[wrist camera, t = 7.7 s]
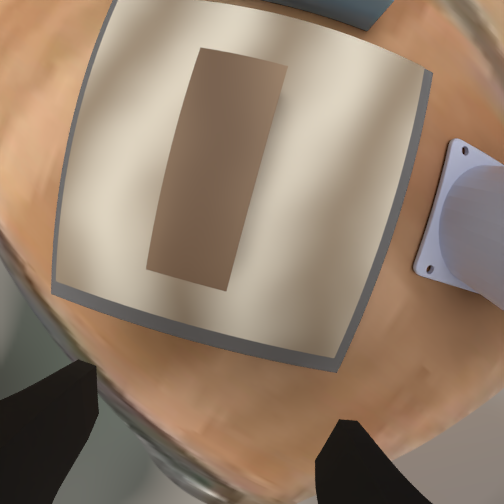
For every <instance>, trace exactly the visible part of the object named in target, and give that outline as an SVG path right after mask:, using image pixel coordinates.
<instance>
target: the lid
mask: <svg viewBox="0 0 504 504" xmlns="http://www.w3.org/2000/svg"><path fill="white" fill-rule="evenodd" d="M424 69H425V68H424V67H422V66H420V65H418V64H416V63H414V62H412V61H410V60H408V59H406V58H404V57H402V56H399V55H397V54H395V53H393V52H391V51H388V50H386V49H384V48H381V47H379V46H376V45H374V44H371V43H369V42H366V41H364V40H361V39H358V38H356V37H353V36H350V35H347V34H345V33H342V32H339V31H336V30H333V29H330V28H327V27H324V26H320V25H317V24H314V23H310V22H307V21H303V20H300V19H296V18H292V17H288V16H284V15H280V14H276V13H272V12H267V11H263V10H258V9H253V8H248V7H242V6H236V5H230V4H224V3H217V2H209V1H201V0H118V1H117V4H116V6H115V8H114V11H113V13H112V15H111V18H110V20H109V23H108V25H107V28H106V30H105V33H104V35H103V38H102V41H101V44H100V46H99V49H98V52H97V55H96V58H95V61H94V64H93V67H92V70H91V73H90V76H89V79H88V83H87V86H86V90H85V93H84V97H83V100H82V104H81V108H80V112H79V116H78V120H77V124H76V128H75V132H74V137H73V141H72V146H71V151H70V156H69V162H68V167H67V173H66V179H65V185H64V192H63V199H62V207H61V215H60V224H59V235H58V247H57V263H56V281H57V282H59V283H62V284H65V285H68V286H70V287H73V288H76V289H79V290H81V291H84V292H87V293H90V294H93V295H96V296H98V297H101V298H104V299H107V300H110V301H113V302H116V303H119V304H122V305H125V306H129V307H132V308H135V309H138V310H141V311H144V312H148V313H151V314H154V315H157V316H161V317H164V318H168V319H171V320H174V321H178V322H181V323H185V324H188V325H192V326H196V327H199V328H203V329H207V330H211V331H214V332H218V333H222V334H226V335H230V336H234V337H238V338H242V339H246V340H250V341H254V342H259V343H263V344H267V345H272V346H276V347H281V348H285V349H290V350H295V351H299V352H304V353H309V354H314V355H319V356H325V357H330V358H335V355H336V353H337V351H338V349H339V346H340V344H341V342H342V340H343V337H344V335H345V333H346V330H347V328H348V326H349V323H350V321H351V318H352V316H353V314H354V311H355V309H356V306H357V304H358V301H359V299H360V296H361V293H362V291H363V288H364V286H365V283H366V280H367V278H368V275H369V272H370V270H371V267H372V264H373V261H374V258H375V256H376V253H377V250H378V247H379V244H380V241H381V238H382V235H383V232H384V229H385V226H386V223H387V220H388V217H389V213H390V210H391V207H392V204H393V200H394V197H395V194H396V190H397V187H398V183H399V180H400V176H401V172H402V169H403V165H404V161H405V157H406V154H407V150H408V146H409V141H410V137H411V133H412V129H413V124H414V120H415V115H416V111H417V106H418V101H419V96H420V91H421V86H422V80H423V74H424Z"/></svg>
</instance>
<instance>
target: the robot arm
mask: <svg viewBox="0 0 504 504" xmlns="http://www.w3.org/2000/svg"><path fill="white" fill-rule="evenodd" d="M462 148H464V149H465V154H463V153H462ZM429 265H431V269H430V270H429V271H428V272H426V269H427V267H428V266H429ZM413 269H414V271H415V273H416V274H418V275H420V276H423V277H426V278H429V279H433V280H436V281H439V282H443V283H446V284H449V285H452V286H456V287H459V288H462V289H465V290H469V291H472V292H475V293H478V294H481V295H482V296H483V297H485V298H486V299H488V300H489V301H491V302H492V303H493V304H495V305H496V306H498V307H499V308H500V309H502V310H503V311H504V165H503V164H501V163H500V162H498V161H497V160H495V159H493V158H492V157H490V156H488V155H487V154H485V153H483V152H482V151H480V150H478V149H477V148H475V147H473V146H471V145H470V144H468V143H466V142H464V141H463V140H461V139H458V138H456V139H452V140H451V141H450V143H449V146H448V150H447V155H446V159H445V163H444V167H443V171H442V175H441V179H440V183H439V186H438V190H437V194H436V197H435V201H434V204H433V207H432V211H431V214H430V217H429V220H428V224H427V227H426V230H425V233H424V236H423V239H422V242H421V245H420V248H419V250H418V253H417V256H416V259H415V262H414V265H413ZM98 414H99V409H98V395H97V373H96V366H95V365H92V364H89V363H86V362H84V361H81V360H79V359H78V360H77V361H75V362H73V363H71V364H69V365H67V366H66V367H64V368H62V369H60V370H59V371H57V372H55V373H53V374H51V375H50V376H48V377H46V378H44V379H42V380H41V381H39V382H37V383H35V384H33V385H31V386H29V387H27V388H26V389H24V390H22V391H20V392H18V393H15V394H13V395H11V396H9V397H7V398H5V399H2V400H0V504H52V502H53V500H54V498H55V496H56V494H57V492H58V490H59V488H60V486H61V484H62V483H63V481H64V479H65V477H66V476H67V474H68V472H69V471H70V469H71V467H72V466H73V464H74V462H75V460H76V459H77V457H78V455H79V454H80V452H81V450H82V449H83V447H84V445H85V443H86V442H87V440H88V438H89V436H90V433H91V431H92V428H93V426H94V424H95V421H96V419H97V417H98ZM315 483H316V494H317V500H318V504H432V503H431V502H430V501H429V500H428V499H426V498H425V497H424V496H423V495H422V494H421V493H420V492H419V491H418V490H417V489H416V488H415V487H414V486H413V485H412V484H411V483H410V482H409V481H408V480H407V479H406V478H405V477H404V476H403V475H402V474H401V473H400V471H399V470H398V469H397V468H396V467H395V466H394V465H393V463H392V462H391V461H390V460H389V458H388V457H387V456H386V455H385V454H384V453H383V451H382V450H381V449H380V448H379V446H378V445H377V444H376V443H375V441H374V440H373V439H372V438H371V437H370V435H369V434H368V433H367V432H366V430H365V429H364V428H363V427H362V426H361V425H360V423H359V422H358V421H353V420H340V419H339V420H338V422H337V424H336V426H335V428H334V429H333V431H332V433H331V435H330V436H329V438H328V440H327V442H326V443H325V445H324V447H323V448H322V450H321V452H320V453H319V455H318V456H317V458H316V460H315Z"/></svg>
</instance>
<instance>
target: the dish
mask: <svg viewBox="0 0 504 504" xmlns="http://www.w3.org/2000/svg"><path fill="white" fill-rule="evenodd" d="M263 1H268V2H272V3H277V4H281V5H285V6H289V7H293V8H297V9H301V10H304V11H308V12H312V13H315V14H318V15H322V16H325V17H328V18H331V19H334V20H337V21H340V22H343V23H346V24H349V25H352V26H354V27H357V28H360V29H362V30H365V31H368V30H369V29H370V28H371V26H372V25H373V24H374V23H375V22H376V21H377V20H378V18H379V17H380V16H381V15H382V14H383V13H384V12H385V11H386V9H387V8H388V7H389V6H390V5H391V4H392V3H393V2H394V0H263Z"/></svg>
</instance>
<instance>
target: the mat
mask: <svg viewBox="0 0 504 504" xmlns="http://www.w3.org/2000/svg"><path fill="white" fill-rule="evenodd" d="M117 1H118V0H113V1H112V4H111V6H110V8H109V10H108V13H107V15H106V18H105V20H104V22H103V25H102V27H101V30H100V33H99V35H98V38H97V41H96V43H95V46H94V49H93V52H92V55H91V57H90V60H89V63H88V67H87V70H86V73H85V76H84V79H83V83H82V86H81V89H80V93H79V96H78V100H77V104H76V108H75V112H74V116H73V120H72V124H71V128H70V133H69V137H68V142H67V147H66V152H65V157H64V162H63V168H62V174H61V180H60V187H59V194H58V202H57V210H56V219H55V229H54V241H53V256H52V282H51V294H53V295H56V296H58V297H61V298H63V299H66V300H68V301H71V302H74V303H76V304H79V305H82V306H84V307H87V308H90V309H93V310H96V311H98V312H101V313H104V314H107V315H110V316H113V317H116V318H119V319H122V320H125V321H128V322H131V323H134V324H137V325H140V326H143V327H147V328H150V329H153V330H156V331H160V332H163V333H166V334H170V335H173V336H177V337H180V338H184V339H187V340H191V341H194V342H198V343H202V344H206V345H209V346H213V347H217V348H221V349H225V350H229V351H233V352H237V353H241V354H245V355H250V356H254V357H259V358H263V359H268V360H272V361H277V362H282V363H286V364H291V365H296V366H302V367H307V368H312V369H318V370H323V371H329V372H335V373H337V371H338V369H339V367H340V365H341V363H342V361H343V359H344V357H345V354H346V352H347V350H348V348H349V346H350V343H351V341H352V339H353V337H354V334H355V332H356V330H357V327H358V325H359V323H360V320H361V318H362V316H363V313H364V311H365V308H366V306H367V303H368V301H369V298H370V296H371V293H372V291H373V288H374V286H375V283H376V281H377V278H378V275H379V273H380V270H381V267H382V264H383V262H384V259H385V256H386V253H387V250H388V247H389V245H390V242H391V239H392V236H393V233H394V230H395V227H396V223H397V220H398V217H399V214H400V211H401V207H402V204H403V201H404V197H405V194H406V191H407V187H408V183H409V180H410V176H411V173H412V169H413V165H414V161H415V157H416V153H417V149H418V145H419V141H420V137H421V132H422V128H423V123H424V119H425V114H426V109H427V104H428V99H429V93H430V88H431V82H432V76H433V73H432V72H430V71H428V70H426V69H424V74H423V80H422V86H421V91H420V96H419V101H418V106H417V111H416V115H415V120H414V124H413V129H412V133H411V137H410V141H409V146H408V150H407V154H406V157H405V161H404V165H403V169H402V172H401V176H400V180H399V183H398V187H397V190H396V194H395V197H394V200H393V204H392V207H391V210H390V213H389V217H388V220H387V223H386V226H385V229H384V232H383V235H382V238H381V241H380V244H379V247H378V250H377V253H376V256H375V258H374V261H373V264H372V267H371V270H370V272H369V275H368V278H367V280H366V283H365V286H364V288H363V291H362V293H361V296H360V299H359V301H358V304H357V306H356V309H355V311H354V314H353V316H352V318H351V321H350V323H349V326H348V328H347V330H346V333H345V335H344V337H343V340H342V342H341V344H340V346H339V349H338V351H337V353H336V355H335V358H330V357H325V356H319V355H314V354H309V353H304V352H299V351H295V350H290V349H285V348H281V347H276V346H272V345H267V344H263V343H259V342H254V341H250V340H246V339H242V338H238V337H234V336H230V335H226V334H222V333H218V332H214V331H211V330H207V329H203V328H199V327H196V326H192V325H188V324H185V323H181V322H178V321H174V320H171V319H168V318H164V317H161V316H157V315H154V314H151V313H148V312H144V311H141V310H138V309H135V308H132V307H129V306H125V305H122V304H119V303H116V302H113V301H110V300H107V299H104V298H101V297H98V296H96V295H93V294H90V293H87V292H84V291H81V290H79V289H76V288H73V287H70V286H68V285H65V284H62V283H59V282H57V281H56V263H57V247H58V235H59V224H60V215H61V207H62V199H63V192H64V185H65V179H66V173H67V167H68V162H69V156H70V151H71V146H72V141H73V137H74V132H75V128H76V124H77V120H78V116H79V112H80V108H81V104H82V100H83V97H84V93H85V90H86V86H87V83H88V79H89V76H90V73H91V70H92V67H93V64H94V61H95V58H96V55H97V52H98V49H99V46H100V44H101V41H102V38H103V35H104V33H105V30H106V28H107V25H108V23H109V20H110V18H111V15H112V13H113V11H114V8H115V6H116V4H117Z"/></svg>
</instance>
